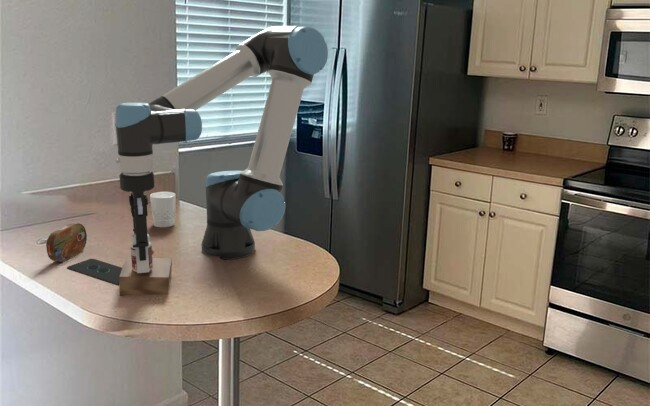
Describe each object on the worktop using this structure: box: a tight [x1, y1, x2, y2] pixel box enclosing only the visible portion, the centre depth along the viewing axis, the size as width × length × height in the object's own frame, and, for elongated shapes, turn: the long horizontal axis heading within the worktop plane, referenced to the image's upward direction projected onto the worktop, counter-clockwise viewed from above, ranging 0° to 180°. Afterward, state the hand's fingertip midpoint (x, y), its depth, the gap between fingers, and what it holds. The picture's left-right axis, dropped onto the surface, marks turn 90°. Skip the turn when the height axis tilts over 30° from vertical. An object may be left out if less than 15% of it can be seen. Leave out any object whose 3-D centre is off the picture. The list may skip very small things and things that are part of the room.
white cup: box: [149, 191, 176, 228], centre depth 196 cm, size 8×8×10 cm
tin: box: [45, 222, 88, 263], centre depth 167 cm, size 15×3×8 cm, turn 168°
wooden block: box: [118, 256, 173, 297], centre depth 147 cm, size 11×11×5 cm
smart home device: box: [66, 258, 123, 286], centre depth 156 cm, size 8×2×20 cm
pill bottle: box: [130, 233, 153, 272], centre depth 144 cm, size 5×5×8 cm
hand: (142, 267), depth 145 cm, fingers closed on pill bottle, 5 cm apart
